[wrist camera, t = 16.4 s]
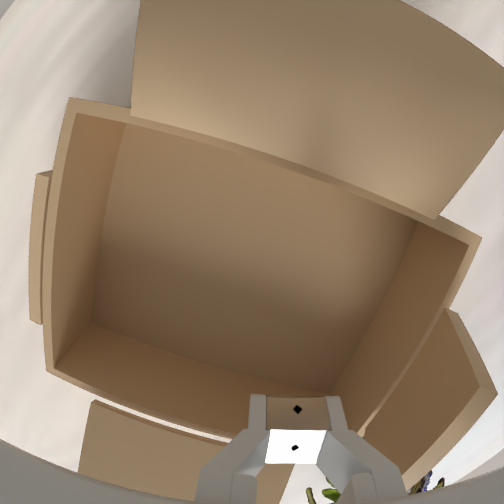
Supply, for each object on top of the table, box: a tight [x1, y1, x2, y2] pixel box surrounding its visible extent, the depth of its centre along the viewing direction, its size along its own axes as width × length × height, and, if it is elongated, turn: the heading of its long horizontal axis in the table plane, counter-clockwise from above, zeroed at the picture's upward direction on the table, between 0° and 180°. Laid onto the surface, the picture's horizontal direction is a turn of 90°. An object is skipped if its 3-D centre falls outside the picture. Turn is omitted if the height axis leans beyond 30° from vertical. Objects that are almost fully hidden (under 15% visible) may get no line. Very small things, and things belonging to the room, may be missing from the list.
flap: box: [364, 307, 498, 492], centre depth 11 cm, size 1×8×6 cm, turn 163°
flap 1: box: [78, 399, 295, 504], centre depth 15 cm, size 12×1×6 cm
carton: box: [29, 97, 482, 439], centre depth 17 cm, size 20×15×6 cm
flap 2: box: [130, 0, 504, 220], centre depth 9 cm, size 12×1×6 cm
